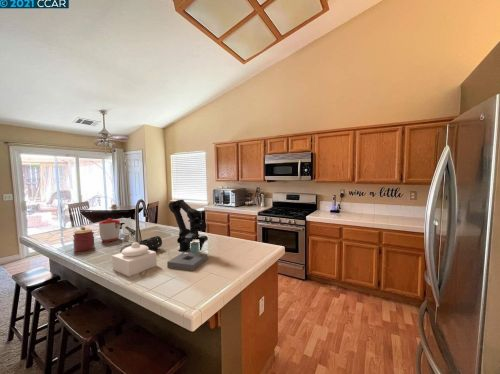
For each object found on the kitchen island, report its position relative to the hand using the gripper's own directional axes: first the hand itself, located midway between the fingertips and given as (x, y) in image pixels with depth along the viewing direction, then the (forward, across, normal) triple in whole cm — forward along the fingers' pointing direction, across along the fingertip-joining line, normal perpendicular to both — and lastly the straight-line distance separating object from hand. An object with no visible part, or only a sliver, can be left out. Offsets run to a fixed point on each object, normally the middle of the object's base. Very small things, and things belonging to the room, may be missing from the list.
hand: (194, 249), depth 157 cm
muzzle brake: (+3, -36, -11) cm, 38 cm away
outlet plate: (+3, +5, -16) cm, 17 cm away
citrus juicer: (+3, -90, +10) cm, 91 cm away
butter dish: (+3, -23, -30) cm, 39 cm away
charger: (+3, 0, 0) cm, 3 cm away
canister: (+3, -89, -14) cm, 90 cm away
